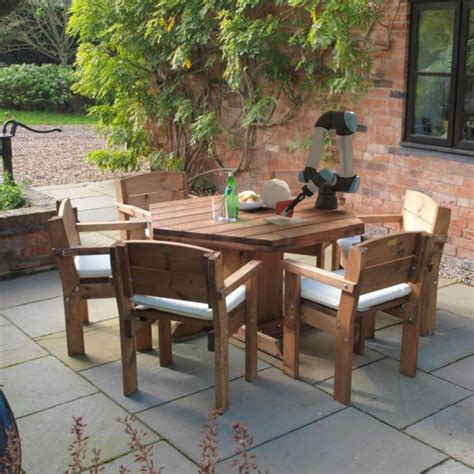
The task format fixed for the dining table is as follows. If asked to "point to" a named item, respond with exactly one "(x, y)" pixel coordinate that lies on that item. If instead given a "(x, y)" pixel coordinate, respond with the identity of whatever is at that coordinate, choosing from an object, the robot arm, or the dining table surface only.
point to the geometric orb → (274, 192)
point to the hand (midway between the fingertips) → (283, 213)
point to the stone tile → (285, 220)
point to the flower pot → (282, 206)
